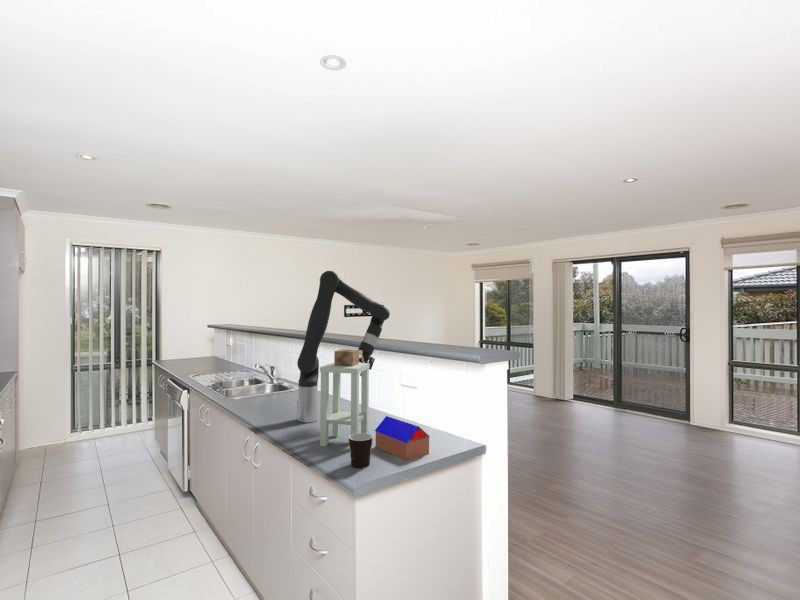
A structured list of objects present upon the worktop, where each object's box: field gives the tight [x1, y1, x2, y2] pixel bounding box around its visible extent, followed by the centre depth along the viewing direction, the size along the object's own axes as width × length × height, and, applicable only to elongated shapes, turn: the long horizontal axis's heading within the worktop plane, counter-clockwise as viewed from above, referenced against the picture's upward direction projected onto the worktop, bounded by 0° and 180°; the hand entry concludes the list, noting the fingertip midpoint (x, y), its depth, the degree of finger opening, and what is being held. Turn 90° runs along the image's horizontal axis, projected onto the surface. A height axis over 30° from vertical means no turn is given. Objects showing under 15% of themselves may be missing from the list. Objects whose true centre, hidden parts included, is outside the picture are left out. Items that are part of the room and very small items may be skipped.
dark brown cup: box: [348, 432, 374, 469], centre depth 154 cm, size 12×9×10 cm
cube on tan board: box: [333, 348, 362, 366], centre depth 186 cm, size 8×20×6 cm, turn 167°
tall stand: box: [319, 362, 370, 448], centre depth 178 cm, size 16×16×32 cm
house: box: [374, 415, 430, 461], centre depth 169 cm, size 12×20×12 cm, turn 40°
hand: (355, 373), depth 210 cm, fingers open, 8 cm apart
